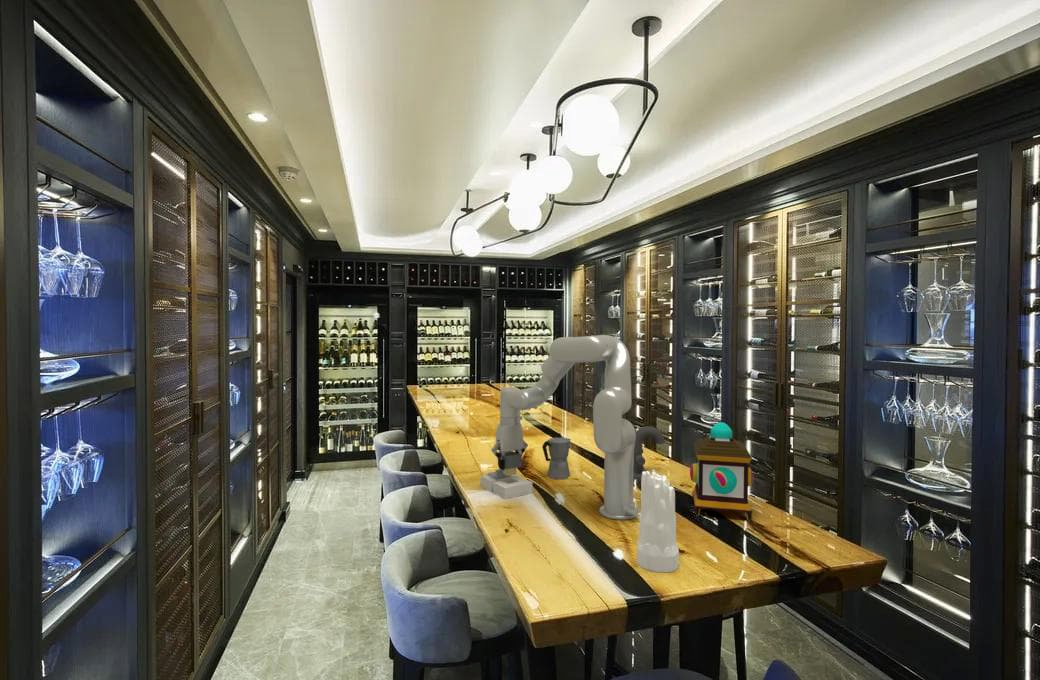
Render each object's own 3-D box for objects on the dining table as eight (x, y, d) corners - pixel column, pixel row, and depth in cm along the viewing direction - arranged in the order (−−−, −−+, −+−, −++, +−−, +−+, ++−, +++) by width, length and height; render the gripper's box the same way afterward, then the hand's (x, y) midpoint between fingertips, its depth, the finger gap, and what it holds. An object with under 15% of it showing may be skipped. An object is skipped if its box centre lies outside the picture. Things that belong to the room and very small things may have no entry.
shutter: (511, 476, 204) (511, 468, 204) (496, 479, 200) (496, 470, 200) (501, 472, 210) (501, 464, 209) (487, 474, 206) (487, 466, 206)
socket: (532, 492, 197) (532, 482, 196) (505, 499, 190) (505, 488, 190) (506, 480, 212) (506, 470, 211) (480, 486, 205) (480, 475, 205)
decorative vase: (671, 553, 145) (671, 464, 144) (684, 572, 135) (685, 475, 134) (632, 554, 145) (632, 464, 144) (642, 573, 134) (643, 476, 133)
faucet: (670, 480, 212) (670, 430, 212) (630, 479, 213) (631, 430, 212) (659, 467, 230) (659, 422, 230) (623, 467, 231) (623, 422, 230)
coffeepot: (562, 470, 225) (562, 429, 225) (578, 475, 218) (578, 432, 217) (535, 477, 216) (535, 434, 215) (550, 483, 208) (550, 438, 208)
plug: (521, 474, 197) (521, 454, 197) (507, 477, 194) (507, 457, 193) (512, 470, 203) (512, 451, 202) (497, 473, 199) (497, 453, 199)
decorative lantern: (747, 502, 186) (749, 418, 185) (757, 523, 167) (758, 429, 165) (688, 497, 191) (689, 415, 190) (690, 517, 172) (691, 426, 171)
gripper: (523, 416, 205) (523, 462, 206) (484, 421, 196) (484, 469, 196) (534, 419, 199) (534, 466, 200) (495, 424, 189) (495, 474, 190)
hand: (509, 467), depth 198 cm, fingers closed on plug, 6 cm apart
